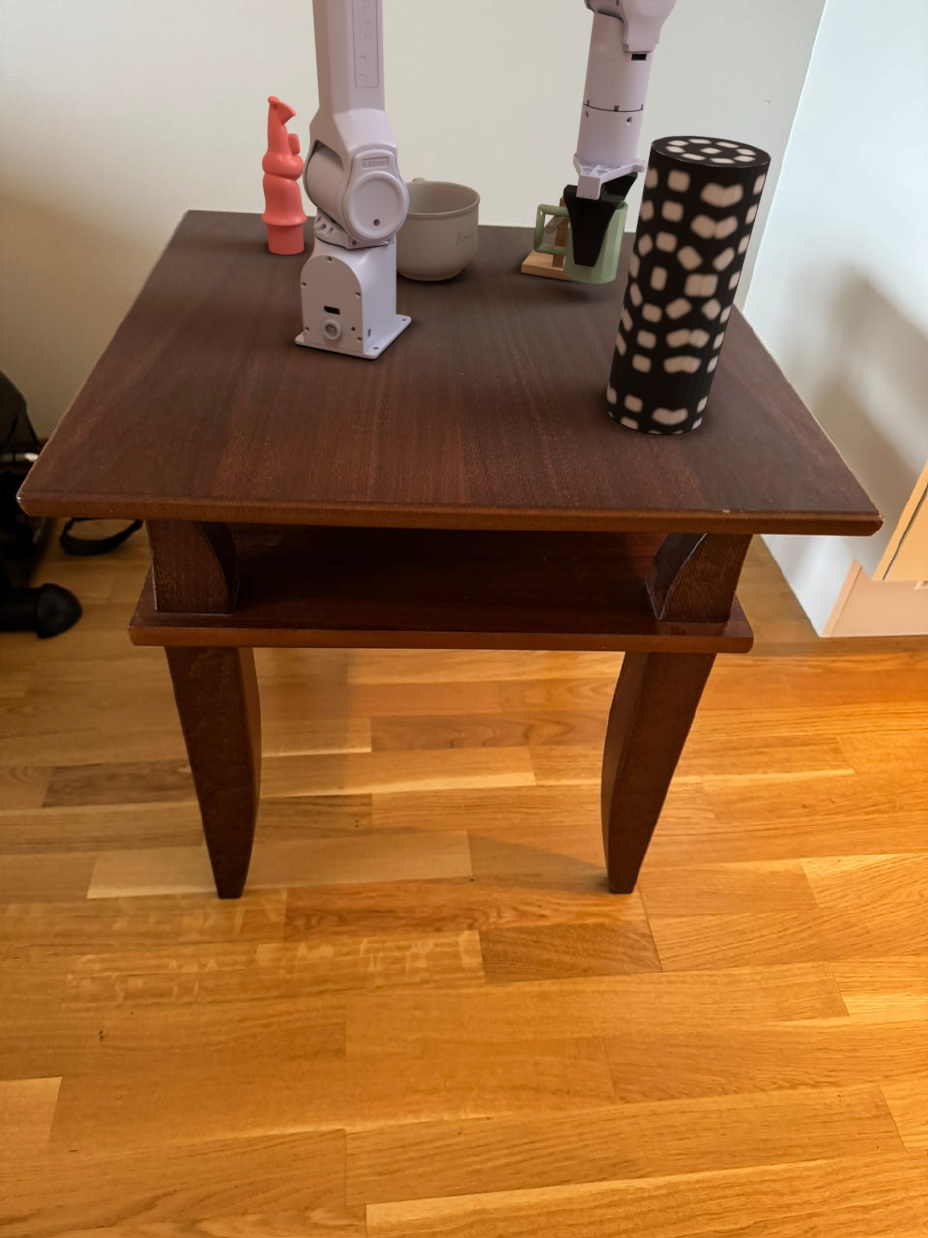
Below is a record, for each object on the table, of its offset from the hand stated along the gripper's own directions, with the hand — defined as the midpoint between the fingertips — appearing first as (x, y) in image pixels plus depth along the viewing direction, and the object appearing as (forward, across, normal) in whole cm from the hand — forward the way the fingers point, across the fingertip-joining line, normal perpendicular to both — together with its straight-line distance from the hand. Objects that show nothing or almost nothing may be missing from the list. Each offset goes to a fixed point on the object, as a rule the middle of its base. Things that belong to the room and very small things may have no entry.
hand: (591, 255), depth 90 cm
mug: (+2, 0, +2) cm, 2 cm away
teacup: (+4, 0, +18) cm, 19 cm away
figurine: (+4, -2, +34) cm, 34 cm away
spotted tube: (+4, -22, -11) cm, 25 cm away
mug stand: (+4, +3, +5) cm, 7 cm away
